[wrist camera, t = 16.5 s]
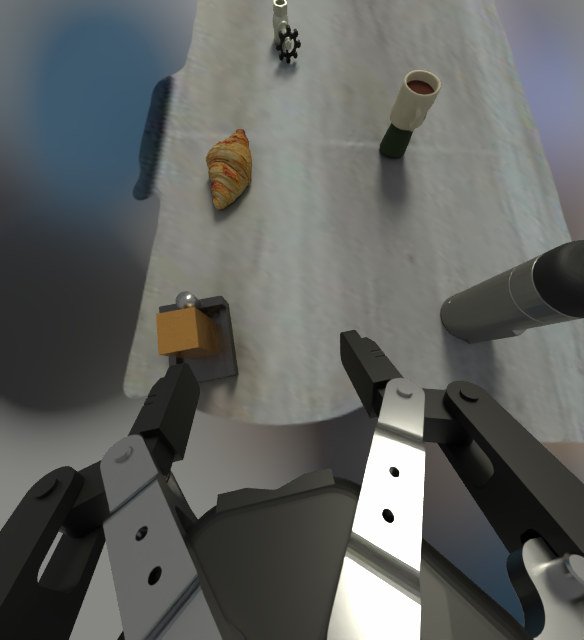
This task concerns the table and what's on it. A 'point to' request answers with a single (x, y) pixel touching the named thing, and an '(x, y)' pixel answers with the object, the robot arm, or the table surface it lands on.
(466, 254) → the table surface
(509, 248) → the table surface
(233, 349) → the tray
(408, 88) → the character mug
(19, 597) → the robot arm
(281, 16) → the valve
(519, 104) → the table surface
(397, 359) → the table surface
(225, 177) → the croissant
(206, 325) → the block
